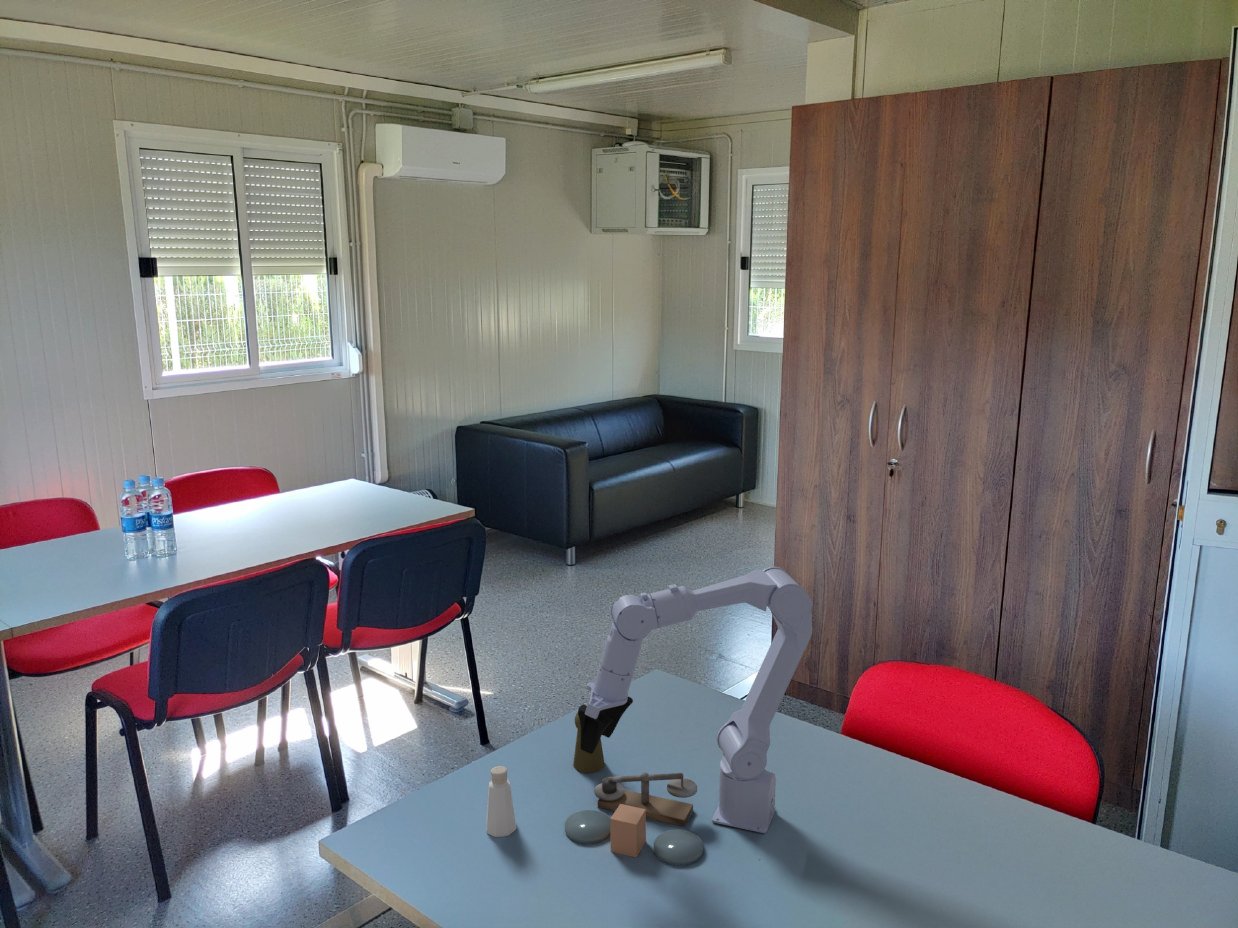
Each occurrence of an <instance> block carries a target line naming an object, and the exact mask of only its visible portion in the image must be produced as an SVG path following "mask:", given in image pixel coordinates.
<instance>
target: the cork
mask: <svg viewBox="0 0 1238 928" xmlns="http://www.w3.org/2000/svg"><path fill="white" fill-rule="evenodd" d="M574 725H575V727H576V729H577V732H576V740H575V747H574V756H573V764H572V765H573V768H574V769H575V770H576V771H578V772H580V773H583V774H592V773H593V774H594V773H597V772H600V771H602V770H603V769H604V767H605V766H606V765H605V757H604V751H603V746H602V745H603V743H602V737H601V738H600V740H599V743H598V745H597V747H596V749H595V750H594V752H593V753H592V754H590V753H588V752H585V751H583V750H581V725H580V719H579V716H578V711H577V713H576V714H575V715H574Z"/></svg>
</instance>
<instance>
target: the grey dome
mask: <svg viewBox="0 0 1238 928" xmlns="http://www.w3.org/2000/svg"><path fill="white" fill-rule="evenodd" d="M610 818H611V817H610V816H609V815H608V814H606V813H604V812H602V811H599V810H594V809H593V810H592V809H586V810H578V811H577V812H574V813H572V814H570V815H569V816H568V817H567V818H566V819H565V822H564V833H565V836H567V838H569V840H571V841H573V842H575V843H580V844H596V843H599V842H602V841H604V840H606V839H608V837H610Z"/></svg>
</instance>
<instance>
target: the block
mask: <svg viewBox="0 0 1238 928" xmlns="http://www.w3.org/2000/svg"><path fill="white" fill-rule="evenodd" d="M613 812H614V813H613V814H612V816H611V817H610V835H609V839H610V842H609V843H610V852H613V853H616V854H619V855H620V854H621V855H625V856H628V857H633V858H637V857H638V856H639V854H640V853H641V851H642V849H643V847H644V846H645V844H646V841H647V840H646V839H647V818H646V809H642V808H637V807H633V806H628V805H624V804H620V805H619V806H618V808H617V809H616V811H613Z"/></svg>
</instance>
